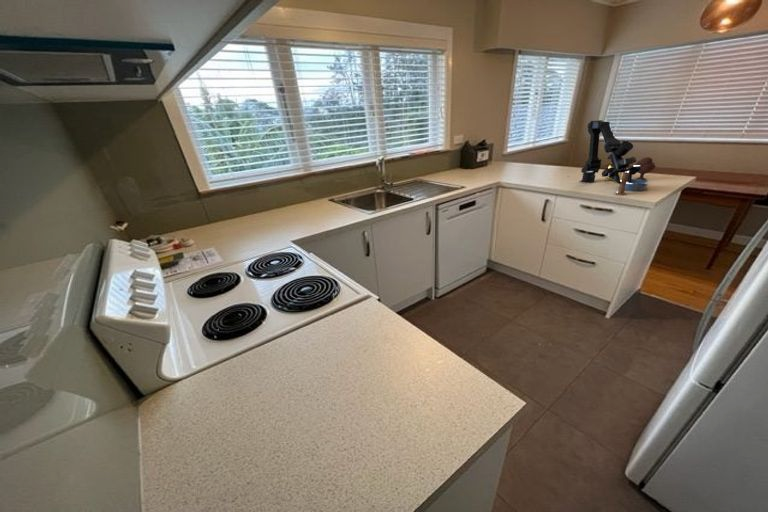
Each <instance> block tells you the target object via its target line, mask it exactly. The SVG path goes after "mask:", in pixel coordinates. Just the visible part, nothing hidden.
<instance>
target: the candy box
mask: <svg viewBox="0 0 768 512" xmlns="http://www.w3.org/2000/svg"><path fill="white" fill-rule="evenodd" d="M609 167H611V165H608V167H607V168H609ZM608 174H609V173H608ZM608 176H609V175H608ZM608 176H606V178H608V179H610V180H612V181H614V180H613V179H611V178H610V177H608ZM622 176H623V173H619V177H620V180H622Z"/></svg>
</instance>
